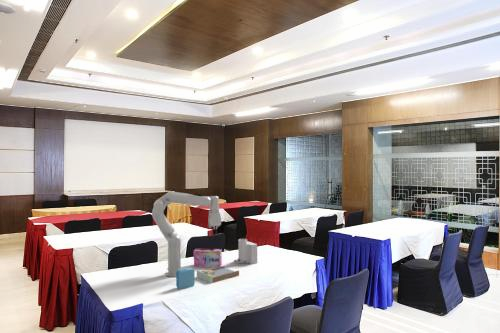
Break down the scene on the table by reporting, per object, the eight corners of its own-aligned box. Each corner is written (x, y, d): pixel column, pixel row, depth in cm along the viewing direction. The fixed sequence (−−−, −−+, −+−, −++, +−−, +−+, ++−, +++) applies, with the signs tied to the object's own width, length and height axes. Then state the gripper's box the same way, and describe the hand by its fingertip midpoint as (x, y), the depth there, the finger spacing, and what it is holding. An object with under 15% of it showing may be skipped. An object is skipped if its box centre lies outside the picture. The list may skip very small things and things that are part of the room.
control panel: (257, 262, 301) (257, 239, 301) (239, 266, 291) (239, 242, 291) (247, 258, 315) (246, 236, 315) (229, 262, 304) (229, 239, 304)
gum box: (192, 266, 293) (192, 250, 293) (194, 263, 301) (194, 248, 301) (220, 267, 290) (220, 250, 290) (222, 264, 298) (221, 248, 298)
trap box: (196, 277, 264) (196, 270, 264) (224, 270, 282) (224, 263, 282) (211, 283, 250) (211, 276, 250) (239, 275, 267) (239, 268, 267)
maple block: (204, 276, 259) (204, 271, 259) (210, 274, 263) (210, 269, 263) (208, 278, 255) (207, 272, 255) (214, 276, 259) (214, 270, 259)
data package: (191, 284, 249) (191, 267, 249) (194, 285, 245) (194, 268, 245) (176, 287, 241) (176, 270, 241) (179, 289, 238) (178, 272, 238)
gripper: (209, 212, 274) (209, 236, 274) (224, 211, 284) (224, 233, 284) (204, 211, 280) (204, 234, 280) (219, 210, 289) (219, 232, 289)
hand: (214, 234), depth 282 cm, fingers closed
